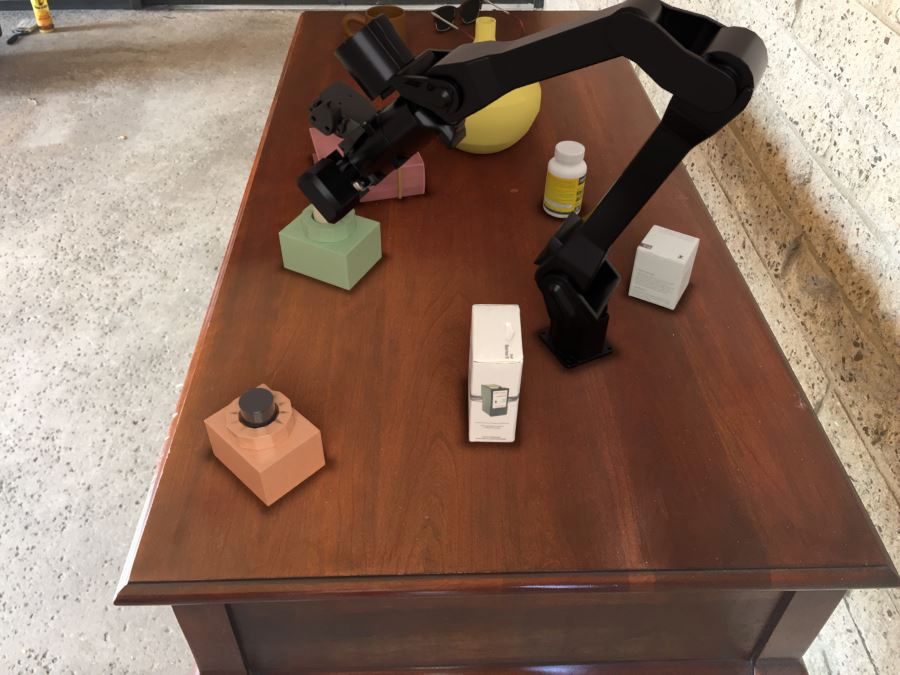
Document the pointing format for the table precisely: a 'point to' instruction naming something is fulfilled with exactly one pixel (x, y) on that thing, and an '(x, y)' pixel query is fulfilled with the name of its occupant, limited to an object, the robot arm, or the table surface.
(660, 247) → the white cardboard box
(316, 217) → the beige push button
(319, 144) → the book
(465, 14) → the sunglasses
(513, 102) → the vase
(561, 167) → the supplement bottle
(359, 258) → the green push button box
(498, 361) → the ink box
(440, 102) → the robot arm
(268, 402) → the dark grey push button
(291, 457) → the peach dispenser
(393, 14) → the mug
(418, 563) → the table surface
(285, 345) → the table surface
